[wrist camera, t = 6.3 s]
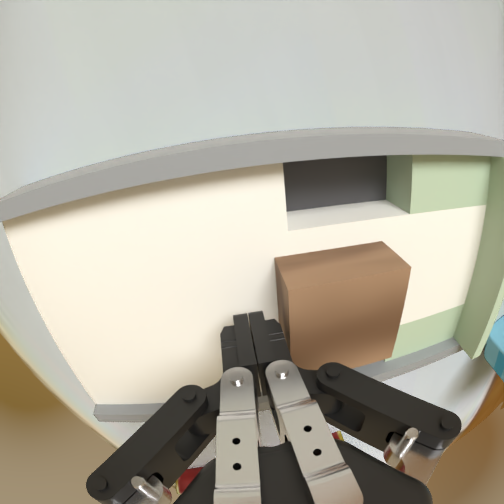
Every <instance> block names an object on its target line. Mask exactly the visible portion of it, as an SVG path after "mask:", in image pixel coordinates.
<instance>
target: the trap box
mask: <svg viewBox="0 0 504 504" xmlns="http://www.w3.org/2000/svg"><path fill="white" fill-rule="evenodd" d="M0 222H2V223H3V226H4V229H5V232H6V235H7V238H8V241H9V243H10V246H11V249H12V251H13V254H14V257H15V259H16V262H17V264H18V267H19V269H20V272H21V274H22V276H23V279H24V281H25V283H26V286H27V288H28V290H29V292H30V294H31V296H32V299H33V301H34V303H35V305H36V307H37V309H38V311H39V313H40V315H41V317H42V319H43V321H44V323H45V324H46V326H47V328H48V330H49V332H50V334H51V336H52V337H53V339H54V341H55V343H56V344H57V346H58V348H59V349H60V351H61V353H62V354H63V356H64V358H65V359H66V361H67V363H68V364H69V366H70V367H71V369H72V371H73V372H74V374H75V375H76V377H77V378H78V380H79V381H80V383H81V384H82V386H83V387H84V388H85V390H86V391H87V393H88V394H89V396H90V397H91V398H92V400H93V401H94V402H95V404H96V405H95V409H94V413H93V415H94V416H95V417H96V418H97V420H98V421H101V422H146V421H147V420H148V419H149V418H150V417H152V416H153V415H154V414H155V413H156V412H157V411H158V410H159V409H160V408H161V407H162V406H163V405H164V404H165V403H166V402H167V401H168V399H169V398H170V397H171V396H172V395H173V394H174V393H175V392H176V391H177V390H178V389H180V388H181V387H183V386H186V385H197V386H200V387H201V388H203V389H204V388H207V387H209V386H212V385H214V384H215V383H217V382H218V381H219V380H220V378H221V376H222V374H223V365H222V352H221V338H220V333H221V331H222V329H223V327H225V326H232V325H234V321H233V315H237V314H244V313H247V316H248V313H250V312H256V311H263V314H264V318H265V320H270V319H275V320H276V321H277V322H278V323H279V317H278V302H277V287H276V273H275V260H274V257H281V256H288V255H294V254H301V253H307V252H314V251H321V250H327V249H334V248H340V247H347V246H353V245H359V244H366V243H372V242H378V241H383V242H384V243H385V244H386V245H387V246H389V247H390V248H391V249H392V250H393V251H394V252H395V253H396V254H398V255H399V256H400V257H401V258H402V259H403V260H404V261H405V262H406V263H408V264H409V265H410V266H411V272H410V278H409V284H408V289H407V294H406V299H405V304H404V308H403V313H402V317H401V322H400V326H399V330H398V334H397V338H396V342H395V346H394V349H393V353H392V357H391V358H387V359H384V360H381V361H377V362H374V363H371V364H367V365H364V366H360V367H356V368H353V370H355V371H358V372H360V373H362V374H364V375H366V376H368V377H371V378H373V379H375V380H377V381H379V382H381V381H384V380H387V379H390V378H393V377H396V376H399V375H402V374H405V373H407V372H410V371H413V370H415V369H418V368H421V367H423V366H426V365H428V364H431V363H433V362H436V361H438V360H440V359H443V358H445V357H447V356H450V355H452V354H454V353H457V352H459V351H461V350H464V351H465V352H466V353H467V354H468V356H469V357H470V358H471V359H474V358H476V357H478V356H480V354H481V352H482V350H483V348H484V346H485V343H486V341H487V339H488V337H489V334H490V332H491V330H492V327H493V325H494V322H495V320H496V317H497V315H498V312H499V309H500V307H501V304H502V301H503V298H504V140H500V139H497V138H493V137H489V136H485V135H481V134H477V133H472V132H465V131H454V130H442V129H426V128H404V127H342V128H318V129H302V130H288V131H277V132H266V133H257V134H248V135H240V136H232V137H225V138H218V139H211V140H205V141H199V142H193V143H187V144H181V145H176V146H171V147H165V148H160V149H155V150H151V151H146V152H141V153H137V154H133V155H128V156H124V157H120V158H116V159H112V160H108V161H104V162H100V163H96V164H93V165H89V166H85V167H82V168H78V169H75V170H72V171H68V172H65V173H62V174H59V175H55V176H52V177H49V178H46V179H43V180H40V181H37V182H34V183H31V184H29V185H26V186H23V187H21V188H19V189H17V190H15V191H14V192H12V193H10V194H8V195H6V196H5V197H3V198H1V199H0ZM248 321H249V316H248ZM249 326H250V323H249ZM258 376H259V375H258ZM259 383H260V380H259ZM260 390H261V385H260ZM258 402H259V409H258V411H264V410H269V409H270V408H269V401H268V396H267V395H266V396H263V395H262V390H261V396H260V397H258Z"/></svg>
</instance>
